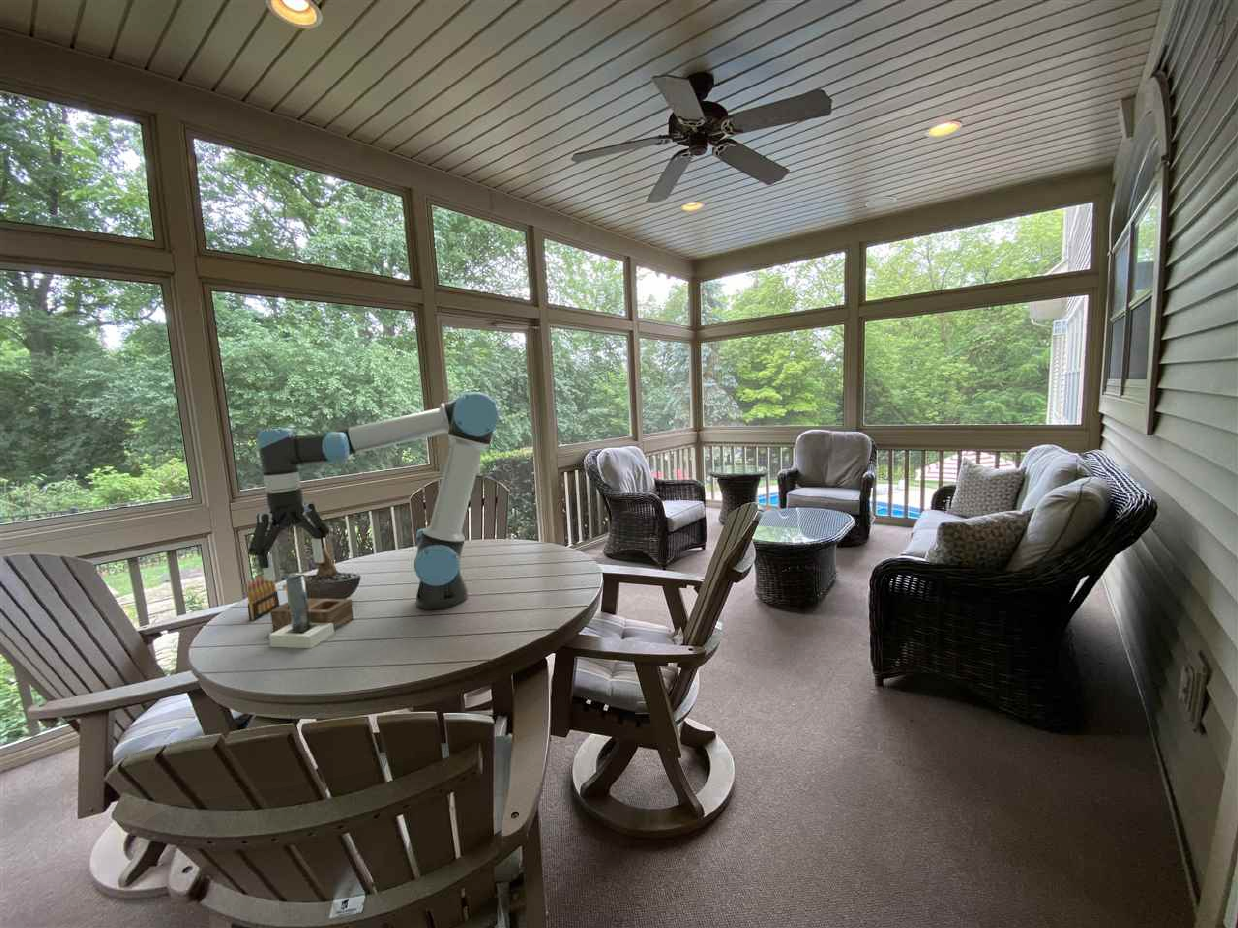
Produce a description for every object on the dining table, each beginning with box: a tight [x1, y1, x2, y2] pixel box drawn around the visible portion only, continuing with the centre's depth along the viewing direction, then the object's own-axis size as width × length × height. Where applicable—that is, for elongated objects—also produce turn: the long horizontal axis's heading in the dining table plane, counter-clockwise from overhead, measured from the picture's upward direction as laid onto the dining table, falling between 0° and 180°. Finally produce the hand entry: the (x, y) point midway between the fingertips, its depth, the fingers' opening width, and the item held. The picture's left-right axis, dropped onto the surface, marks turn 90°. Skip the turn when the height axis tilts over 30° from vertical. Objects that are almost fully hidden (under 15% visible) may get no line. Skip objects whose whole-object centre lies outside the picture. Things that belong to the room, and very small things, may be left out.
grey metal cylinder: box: [285, 572, 311, 634], centre depth 132 cm, size 4×4×17 cm
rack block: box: [268, 622, 335, 649], centre depth 133 cm, size 12×8×3 cm, turn 80°
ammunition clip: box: [247, 573, 280, 622], centre depth 153 cm, size 11×2×12 cm, turn 0°
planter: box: [304, 545, 362, 599], centre depth 157 cm, size 15×17×20 cm
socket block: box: [269, 598, 355, 633], centre depth 142 cm, size 18×9×6 cm, turn 80°
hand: (296, 570), depth 131 cm, fingers open, 13 cm apart
